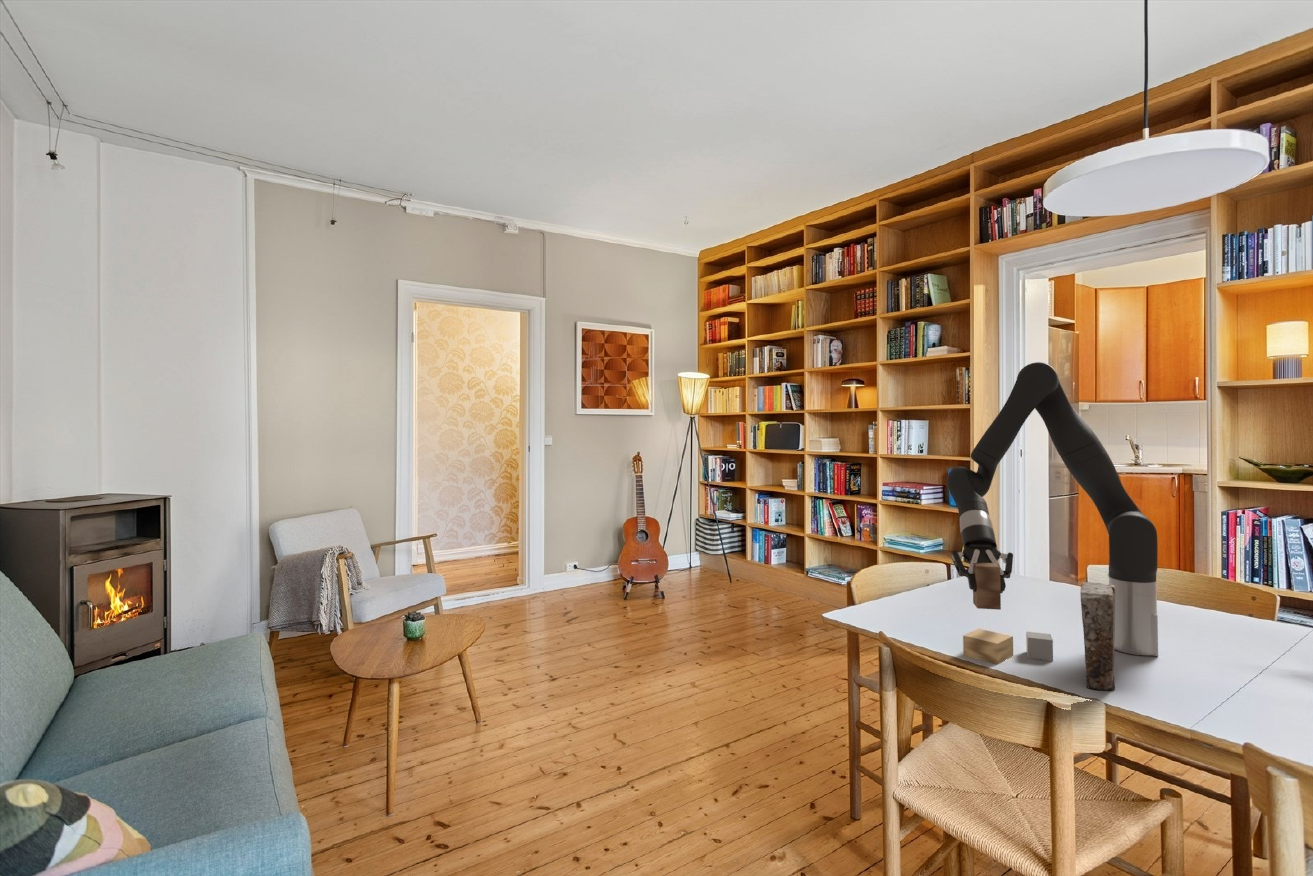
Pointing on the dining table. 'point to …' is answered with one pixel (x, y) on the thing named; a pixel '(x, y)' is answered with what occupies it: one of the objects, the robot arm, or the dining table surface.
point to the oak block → (988, 646)
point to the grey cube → (1039, 646)
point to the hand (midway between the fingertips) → (988, 590)
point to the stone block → (1099, 633)
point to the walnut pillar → (987, 586)
